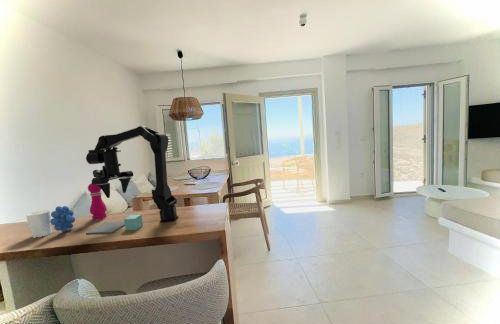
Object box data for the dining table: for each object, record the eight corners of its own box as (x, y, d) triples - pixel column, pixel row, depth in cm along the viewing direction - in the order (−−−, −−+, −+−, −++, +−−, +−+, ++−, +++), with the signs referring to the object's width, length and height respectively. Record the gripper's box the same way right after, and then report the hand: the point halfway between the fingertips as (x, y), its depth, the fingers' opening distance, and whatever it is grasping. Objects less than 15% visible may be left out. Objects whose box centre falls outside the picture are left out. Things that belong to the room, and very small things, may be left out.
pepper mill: (102, 220, 123) (96, 180, 120) (88, 221, 123) (81, 181, 121) (110, 215, 130) (105, 177, 128) (97, 216, 130) (91, 178, 128)
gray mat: (129, 222, 116) (129, 221, 116) (113, 232, 104) (112, 231, 104) (104, 223, 117) (104, 222, 117) (86, 234, 105) (85, 232, 105)
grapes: (63, 237, 104) (58, 209, 102) (48, 237, 104) (43, 209, 103) (84, 226, 115) (80, 201, 114) (70, 227, 116) (66, 202, 115)
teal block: (142, 225, 110) (141, 214, 110) (136, 229, 106) (135, 218, 105) (132, 226, 111) (130, 215, 110) (125, 230, 106) (124, 219, 105)
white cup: (34, 239, 103) (30, 216, 102) (27, 236, 108) (23, 214, 106) (56, 232, 110) (52, 210, 109) (49, 230, 114) (45, 208, 113)
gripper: (114, 160, 127) (119, 190, 129) (79, 166, 109) (85, 201, 111) (131, 159, 123) (136, 190, 125) (98, 165, 106) (104, 200, 108)
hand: (116, 195), depth 117 cm, fingers open, 9 cm apart
